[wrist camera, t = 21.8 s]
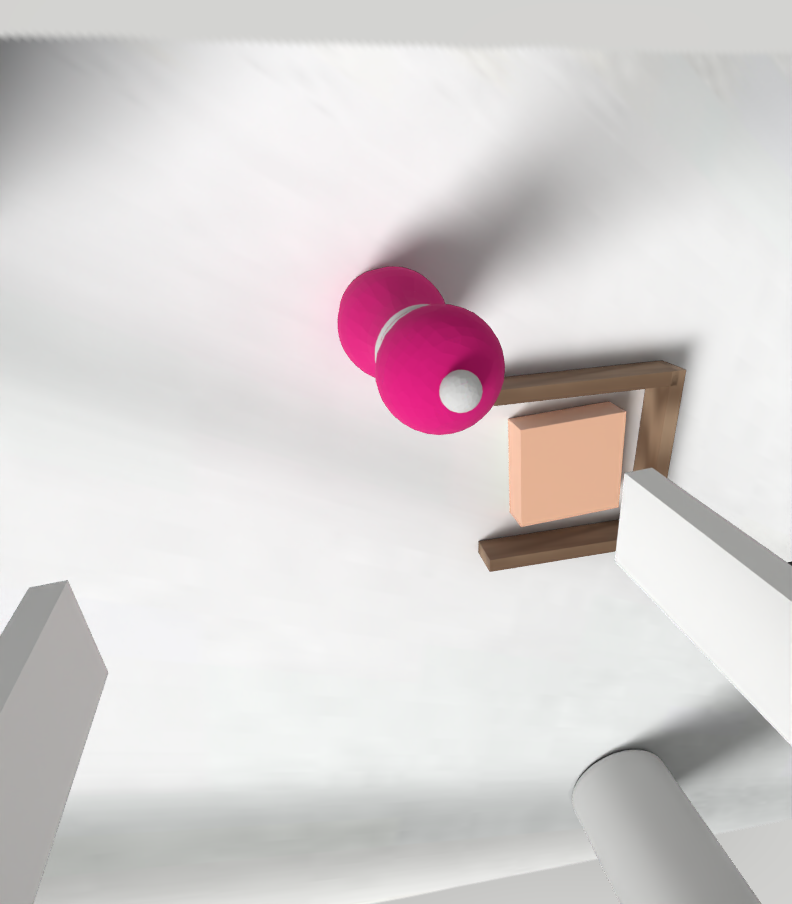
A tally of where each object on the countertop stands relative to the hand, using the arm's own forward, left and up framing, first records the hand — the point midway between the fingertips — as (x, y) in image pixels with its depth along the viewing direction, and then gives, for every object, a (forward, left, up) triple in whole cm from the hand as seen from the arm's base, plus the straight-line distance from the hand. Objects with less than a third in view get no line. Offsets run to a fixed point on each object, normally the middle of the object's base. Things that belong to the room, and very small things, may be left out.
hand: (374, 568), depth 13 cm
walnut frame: (+13, +21, -29) cm, 38 cm away
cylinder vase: (+59, +32, -29) cm, 73 cm away
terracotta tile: (+13, +20, -30) cm, 38 cm away
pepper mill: (-1, +5, -29) cm, 30 cm away
